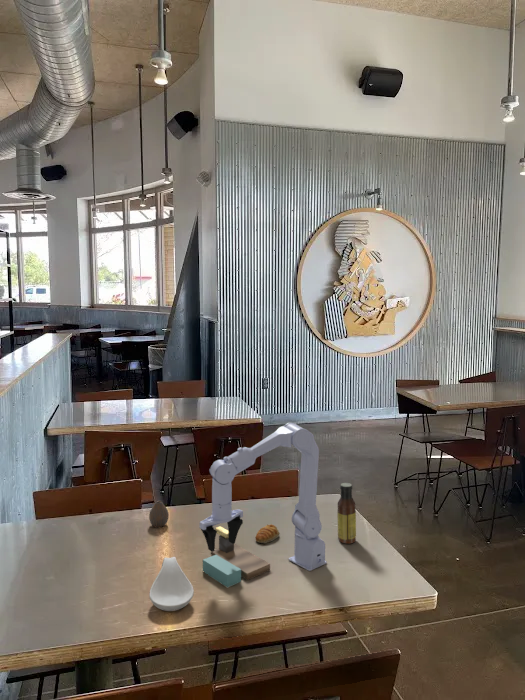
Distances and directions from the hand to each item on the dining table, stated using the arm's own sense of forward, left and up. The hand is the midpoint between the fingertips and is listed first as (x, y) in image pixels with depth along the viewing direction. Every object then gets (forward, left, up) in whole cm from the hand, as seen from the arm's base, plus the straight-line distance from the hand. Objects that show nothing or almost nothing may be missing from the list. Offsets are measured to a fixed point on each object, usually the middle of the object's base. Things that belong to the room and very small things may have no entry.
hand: (221, 546), depth 154 cm
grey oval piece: (+44, -4, -10) cm, 45 cm away
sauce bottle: (-8, -47, -10) cm, 49 cm away
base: (+3, -9, -9) cm, 13 cm away
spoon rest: (+2, +16, -10) cm, 19 cm away
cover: (0, 0, -10) cm, 10 cm away
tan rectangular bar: (+11, -9, -3) cm, 15 cm away
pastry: (+11, -28, -10) cm, 31 cm away
